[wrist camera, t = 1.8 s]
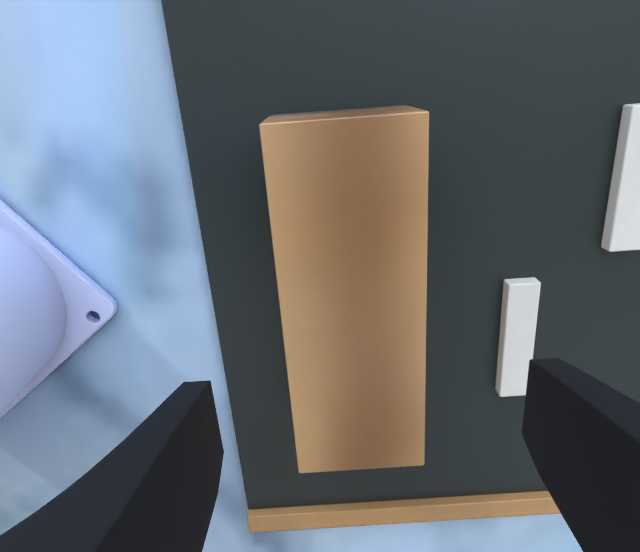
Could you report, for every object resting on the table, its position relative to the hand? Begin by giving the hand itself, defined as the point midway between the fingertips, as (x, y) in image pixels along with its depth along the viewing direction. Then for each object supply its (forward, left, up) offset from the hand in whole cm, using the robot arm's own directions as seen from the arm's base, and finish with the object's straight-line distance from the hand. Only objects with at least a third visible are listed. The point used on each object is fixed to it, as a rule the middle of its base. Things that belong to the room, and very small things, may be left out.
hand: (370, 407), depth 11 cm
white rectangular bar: (+3, -6, -8) cm, 11 cm away
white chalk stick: (+10, -4, -8) cm, 13 cm away
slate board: (+4, -3, -9) cm, 10 cm away
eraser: (0, 0, -8) cm, 8 cm away
